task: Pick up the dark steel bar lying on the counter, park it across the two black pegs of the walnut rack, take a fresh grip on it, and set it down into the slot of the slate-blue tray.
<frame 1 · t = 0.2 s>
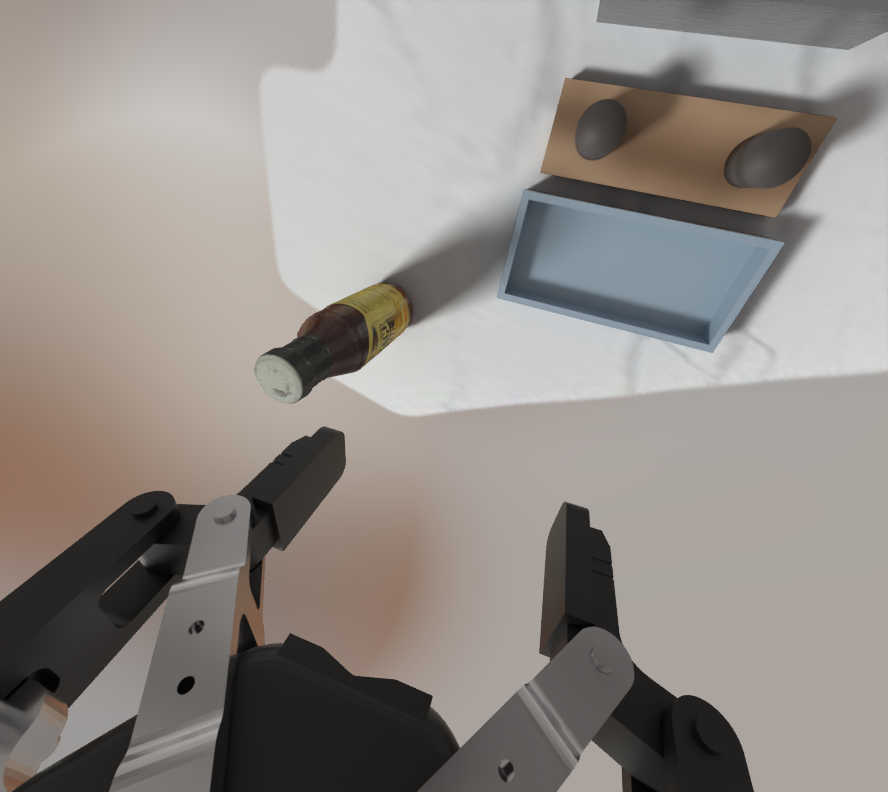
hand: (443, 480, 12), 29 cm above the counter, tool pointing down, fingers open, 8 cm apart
slot tray: (617, 267, 33), on the counter
sauce bottle: (391, 305, 41), on the counter
peg rack: (666, 149, 28), on the counter
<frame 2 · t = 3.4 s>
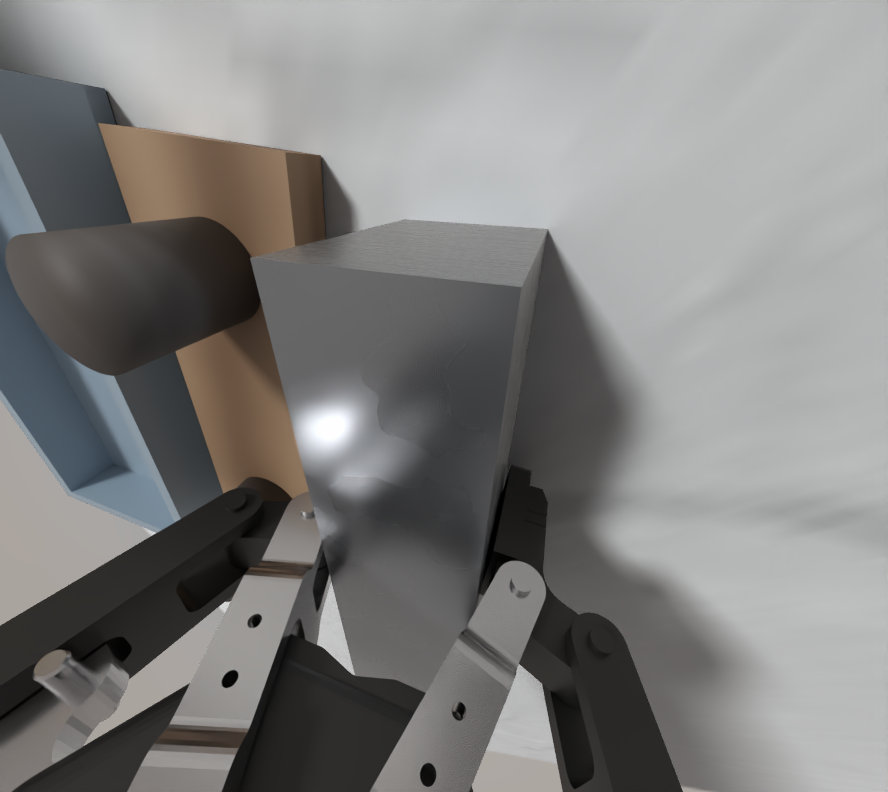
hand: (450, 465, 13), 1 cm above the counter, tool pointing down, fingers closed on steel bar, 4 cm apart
steel bar: (458, 447, 14), on the counter, touching gripper
slot tray: (115, 344, 17), on the counter
peg rack: (275, 393, 15), on the counter
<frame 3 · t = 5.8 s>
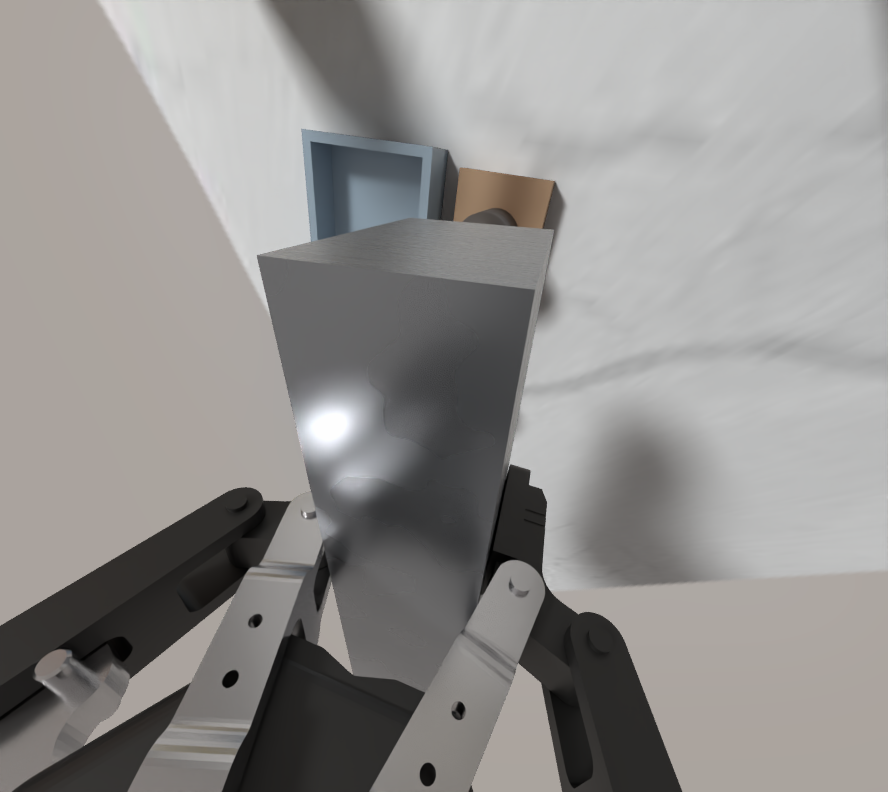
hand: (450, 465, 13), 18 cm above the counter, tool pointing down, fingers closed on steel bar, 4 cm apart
steel bar: (459, 447, 14), point 17 cm above the counter, touching gripper
slot tray: (382, 283, 30), on the counter
peg rack: (484, 306, 28), on the counter
when the fingers open (7 cm above the counter, at t = 8.3 s): steel bar stays where it is, resting on peg rack.
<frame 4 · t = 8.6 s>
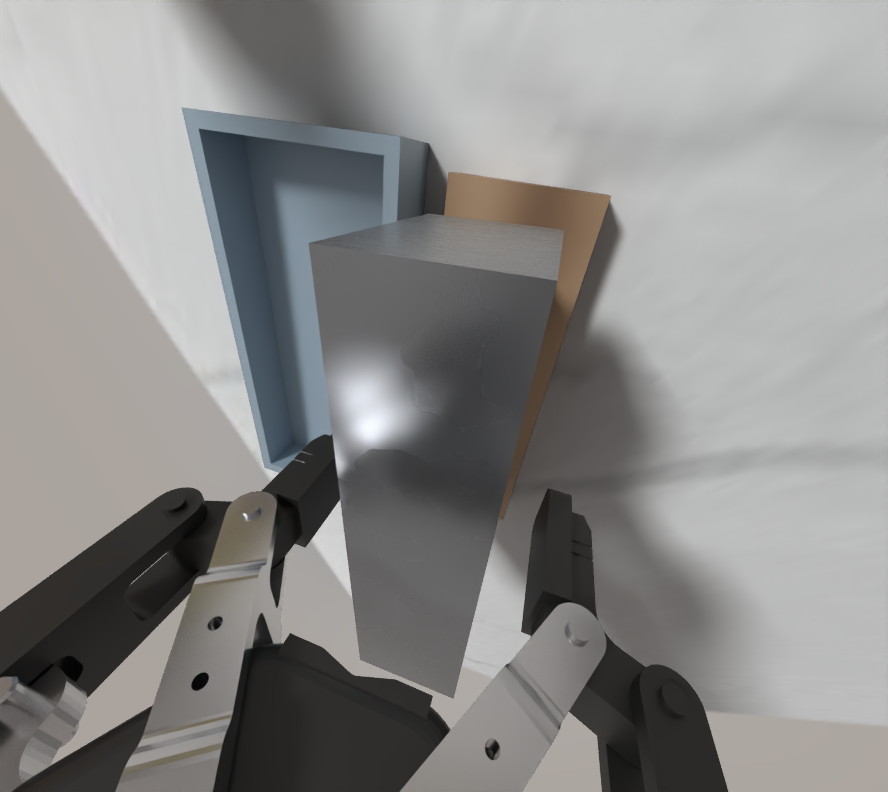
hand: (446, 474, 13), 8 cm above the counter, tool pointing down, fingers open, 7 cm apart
steel bar: (464, 434, 15), point 5 cm above the counter, touching peg rack
slot tray: (339, 337, 21), on the counter
peg rack: (488, 375, 19), on the counter
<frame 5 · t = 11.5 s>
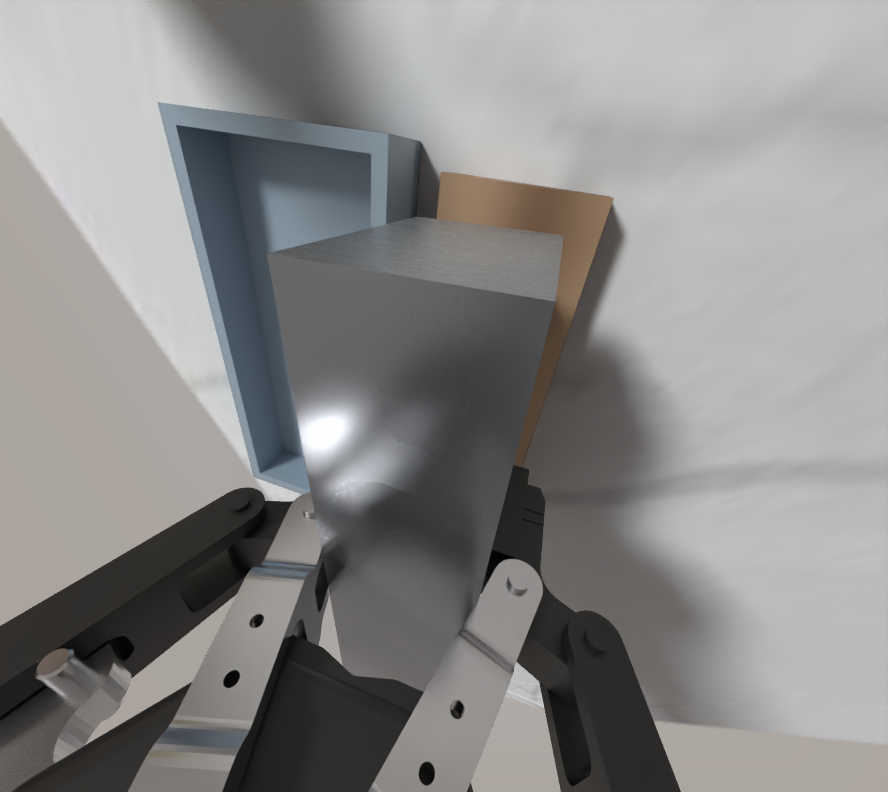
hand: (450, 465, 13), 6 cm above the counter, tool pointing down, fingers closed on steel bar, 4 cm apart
steel bar: (457, 449, 14), point 6 cm above the counter, touching gripper, peg rack
slot tray: (330, 343, 20), on the counter
peg rack: (484, 384, 18), on the counter
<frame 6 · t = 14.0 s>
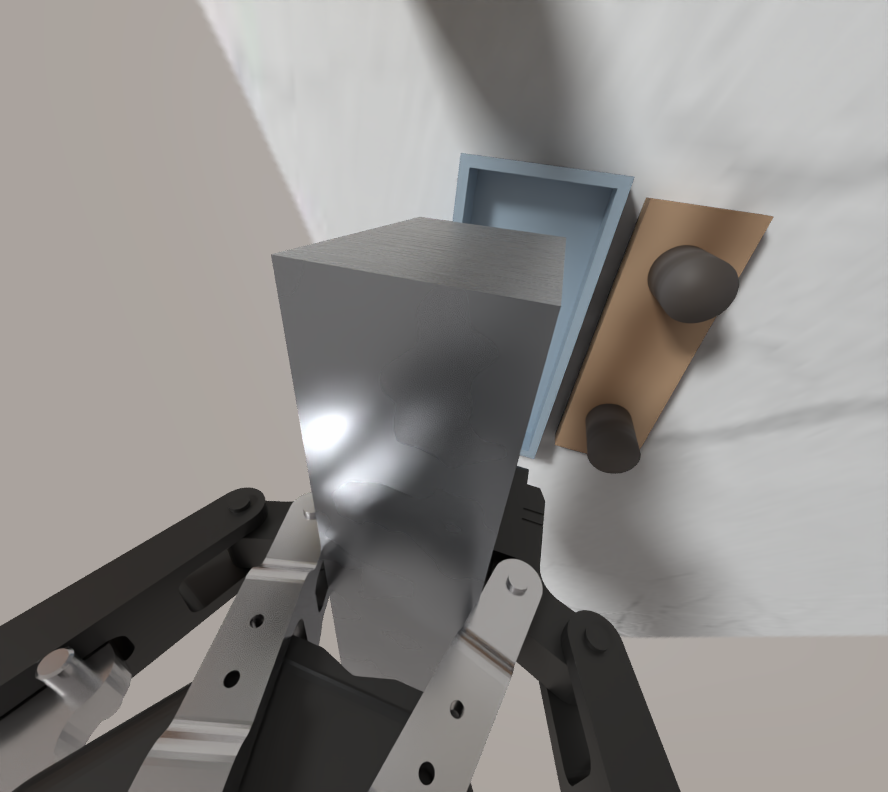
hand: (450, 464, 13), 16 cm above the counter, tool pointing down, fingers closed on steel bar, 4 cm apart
steel bar: (457, 450, 14), point 16 cm above the counter, touching gripper
slot tray: (510, 320, 27), on the counter
peg rack: (635, 348, 25), on the counter
when the fingers open (3 cm above the counter, at t = 16.6 s): steel bar drops 2 cm, resting on slot tray.
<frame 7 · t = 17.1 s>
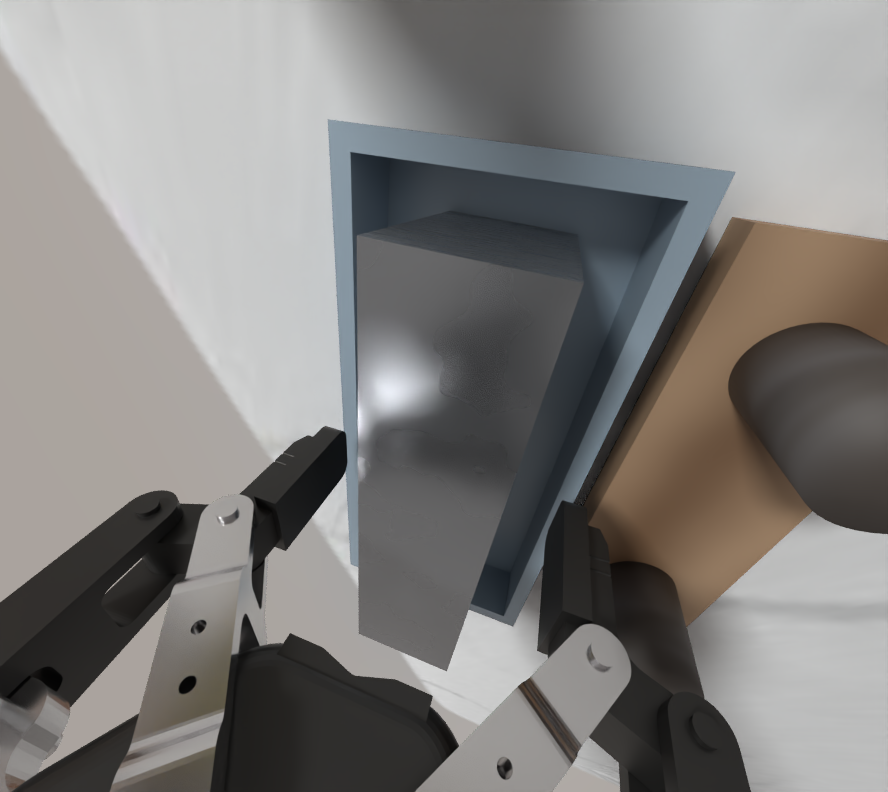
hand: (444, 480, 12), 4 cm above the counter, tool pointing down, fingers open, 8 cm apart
steel bar: (467, 423, 15), point 1 cm above the counter, touching slot tray
slot tray: (470, 416, 16), on the counter
peg rack: (686, 477, 14), on the counter
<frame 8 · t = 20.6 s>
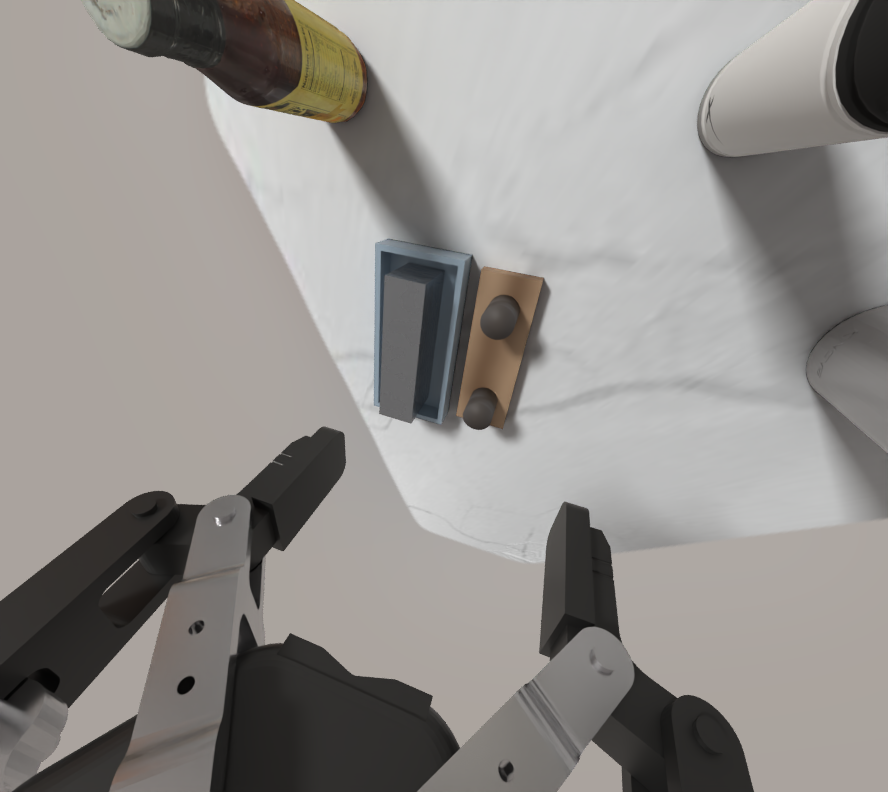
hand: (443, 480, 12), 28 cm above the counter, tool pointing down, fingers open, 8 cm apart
steel bar: (419, 336, 41), point 1 cm above the counter, touching slot tray
slot tray: (421, 334, 42), on the counter
travel mug: (746, 107, 25), on the counter
sauce bottle: (342, 82, 31), on the counter
peg rack: (495, 352, 40), on the counter
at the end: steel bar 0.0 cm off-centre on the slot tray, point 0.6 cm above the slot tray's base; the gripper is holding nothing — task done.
